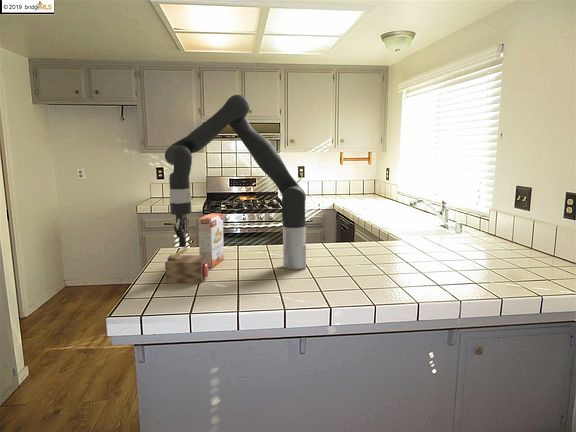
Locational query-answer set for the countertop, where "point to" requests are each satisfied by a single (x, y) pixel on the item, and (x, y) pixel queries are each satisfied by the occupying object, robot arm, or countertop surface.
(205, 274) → the lynch pin
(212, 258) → the cracker box
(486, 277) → the countertop surface
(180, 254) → the lever
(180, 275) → the block
